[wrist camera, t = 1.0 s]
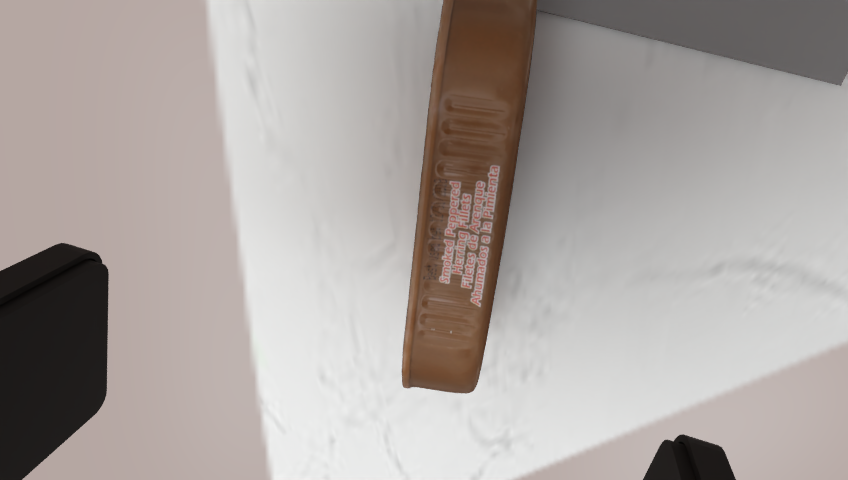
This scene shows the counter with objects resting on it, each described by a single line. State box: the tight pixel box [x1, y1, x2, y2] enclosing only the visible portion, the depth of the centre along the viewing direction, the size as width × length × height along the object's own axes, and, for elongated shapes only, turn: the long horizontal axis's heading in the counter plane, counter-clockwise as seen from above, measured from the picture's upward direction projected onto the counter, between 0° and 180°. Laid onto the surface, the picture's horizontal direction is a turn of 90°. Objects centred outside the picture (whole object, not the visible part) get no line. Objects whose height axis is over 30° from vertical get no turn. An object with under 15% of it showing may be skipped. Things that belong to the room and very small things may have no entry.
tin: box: [402, 0, 537, 393], centre depth 21 cm, size 15×3×8 cm, turn 174°
